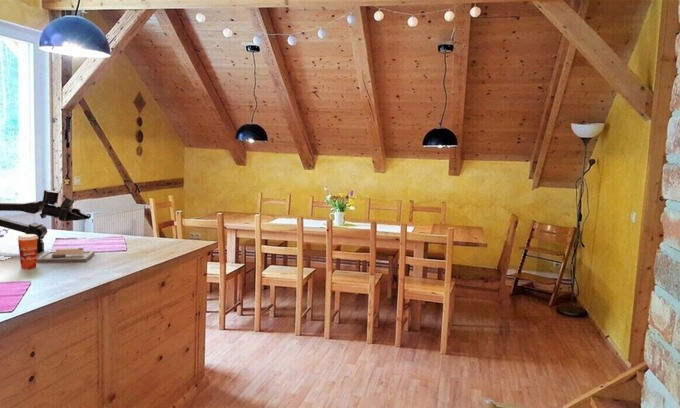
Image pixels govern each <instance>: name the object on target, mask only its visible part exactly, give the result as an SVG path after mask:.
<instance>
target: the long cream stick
mask: <svg viewBox="0 0 680 408" xmlns="http://www.w3.org/2000/svg"><path fill="white" fill-rule="evenodd" d="M55 251H56V253H54V254H52V257H64V256H66V255H82V254H84V251H85V250H84V247H78V248H55Z"/></svg>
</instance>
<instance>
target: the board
mask: <svg viewBox="0 0 680 408" xmlns="http://www.w3.org/2000/svg"><path fill="white" fill-rule="evenodd" d="M83 251H84V254H82V255H66V256H64V257H52V254H54V253H56V250H54V251H53V250H51V251H49V250H48V251H46V252H45V253H43V254H41V255H40V256H37V263H36V264H38V263H39V264H40V263H41V264H42V263H43V264H44V263H86V262H88V261H89V260H90V259H91V258H92V257H93V256H94V255H95V250H83Z"/></svg>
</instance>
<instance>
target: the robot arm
mask: <svg viewBox="0 0 680 408" xmlns="http://www.w3.org/2000/svg"><path fill="white" fill-rule="evenodd" d="M59 196H60V191H58V190H48V189H45V190H44V191H43V197H42V200H38V201H30V202H24V203H22V202H20V203H19V202H18V203H17V202H12V203H11V202H0V212H6V211H7V212H24V213H27V214H39V213H40V214H39V216H40V217H41V218H40V219H45V218H47V216H48V217H51V218H52V217H53V218H55V219H58V220H59V221H61V222H71V221H75V222H76V221H82V220H83V221H84V220H89V219H90V218H91V217H90V216H89V215H87V214H84V213H82V212H81V210H80V208H71V206H72V205H73V204H74V203H75V200H74V199H73V198H71V197H65V199H64V200H63V201H62V203H61V204H60V206H59V205H56V204H57V203H58V201H59ZM0 227H2V228H4V229H8V230H9V229H10V230H13V231H17V232H21V233H24V234H35V235H37V237H38V239H37V254H40V253H42V252H44V251H45V243H44V241H43V240H44V238H45V236H46V235H47V234H48V228H47V227H46V226H45V225H43V224H40V223H38V222H32V223H28V224H26V223H23V222H19V221H14V220H11V219H7V218H3V217H1V216H0Z"/></svg>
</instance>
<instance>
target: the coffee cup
mask: <svg viewBox="0 0 680 408" xmlns="http://www.w3.org/2000/svg"><path fill="white" fill-rule="evenodd" d="M37 239H38V237H37V235H35V234H25V233H24V234H19V235H18V237H17V238H16V240H17V243H18V251H19V252H18V253H19V261H20V262H19V263H20V268H21V269H22V270H31V269H35V268H37V264H38V263H37V258H38V253H37Z"/></svg>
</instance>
